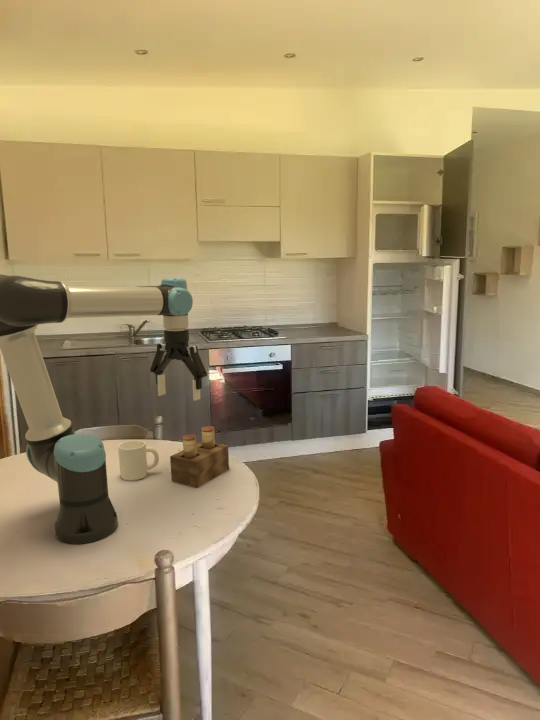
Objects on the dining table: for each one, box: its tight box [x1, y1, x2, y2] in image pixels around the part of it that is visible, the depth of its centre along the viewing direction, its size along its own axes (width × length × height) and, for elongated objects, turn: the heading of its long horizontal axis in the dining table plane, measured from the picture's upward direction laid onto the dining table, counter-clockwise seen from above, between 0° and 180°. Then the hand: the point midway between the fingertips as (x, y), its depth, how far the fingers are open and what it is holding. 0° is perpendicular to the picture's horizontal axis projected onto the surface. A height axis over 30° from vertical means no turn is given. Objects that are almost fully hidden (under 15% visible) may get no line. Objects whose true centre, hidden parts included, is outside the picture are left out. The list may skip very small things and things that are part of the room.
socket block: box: [169, 440, 230, 489], centre depth 171 cm, size 16×10×8 cm, turn 149°
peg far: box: [201, 425, 216, 450], centre depth 174 cm, size 4×4×8 cm
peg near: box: [182, 433, 198, 459], centre depth 166 cm, size 4×4×8 cm
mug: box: [117, 439, 160, 482], centre depth 172 cm, size 12×8×10 cm
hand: (179, 397), depth 171 cm, fingers open, 13 cm apart
